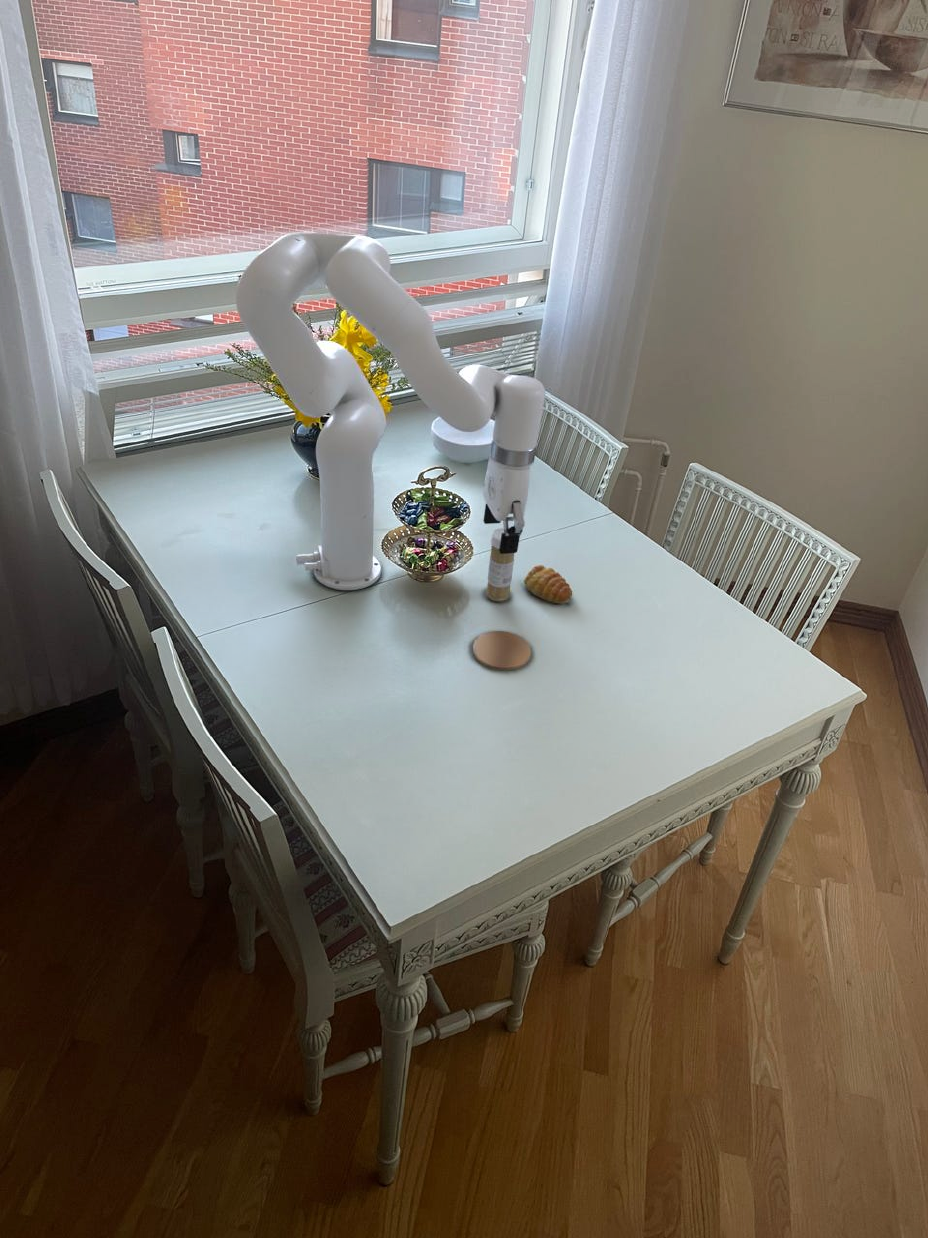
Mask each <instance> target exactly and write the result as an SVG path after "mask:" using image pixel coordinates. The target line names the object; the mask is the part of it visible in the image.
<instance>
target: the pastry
mask: <svg viewBox="0 0 928 1238" xmlns="http://www.w3.org/2000/svg"><path fill="white" fill-rule="evenodd" d="M523 584H524V585H525V587H526V588H527V590H528V591H529V592H531V593H532V594H533V595H534V596H536V597H539V598H541V599H542V600H545V601H547V602H550V603H553V604H560V605H562V604H565V603H567V602H569V601H570V600H571V598H572V597H573V590H572V588H571V587H570V583H568V582H567V581H566V579H565V578H564V577H563V576H562V575H561V574H560V572H557V571H555V570H554V568H552V567H547V568H546V567H545V566H544V565H543V564H539V565H535V566H534V567H532V569H531V570H529V571H528V573H527V574H526V576H525V578H524V580H523Z"/></svg>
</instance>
